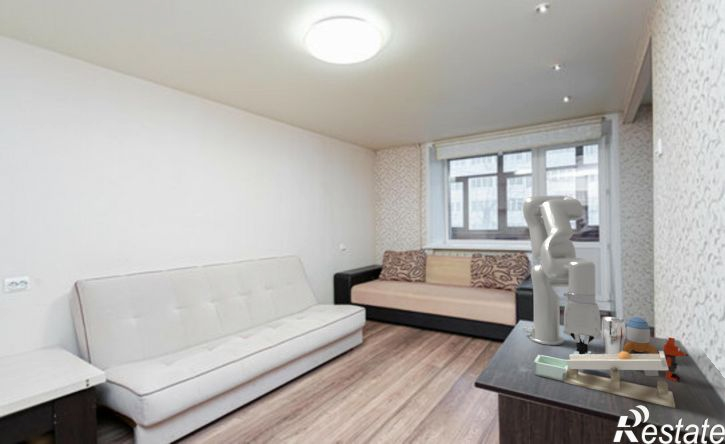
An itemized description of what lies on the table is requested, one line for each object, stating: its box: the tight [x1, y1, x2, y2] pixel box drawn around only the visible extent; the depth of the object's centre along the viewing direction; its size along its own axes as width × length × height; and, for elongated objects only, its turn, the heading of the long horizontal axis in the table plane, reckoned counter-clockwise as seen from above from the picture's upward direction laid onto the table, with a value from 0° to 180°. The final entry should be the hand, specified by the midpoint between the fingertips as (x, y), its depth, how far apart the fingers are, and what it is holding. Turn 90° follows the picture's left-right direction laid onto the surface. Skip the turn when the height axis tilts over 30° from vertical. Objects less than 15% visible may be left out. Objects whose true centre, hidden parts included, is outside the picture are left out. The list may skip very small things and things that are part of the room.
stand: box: [562, 367, 676, 409], centre depth 106 cm, size 26×10×8 cm, turn 53°
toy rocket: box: [623, 316, 659, 354], centre depth 129 cm, size 10×11×15 cm
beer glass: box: [601, 316, 627, 354], centre depth 125 cm, size 7×7×15 cm
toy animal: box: [663, 336, 689, 382], centre depth 111 cm, size 8×6×12 cm
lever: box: [566, 350, 669, 377], centre depth 109 cm, size 24×14×5 cm, turn 54°
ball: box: [618, 351, 632, 360], centre depth 105 cm, size 3×3×3 cm
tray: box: [533, 354, 569, 382], centre depth 116 cm, size 9×8×4 cm
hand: (582, 354), depth 118 cm, fingers closed
